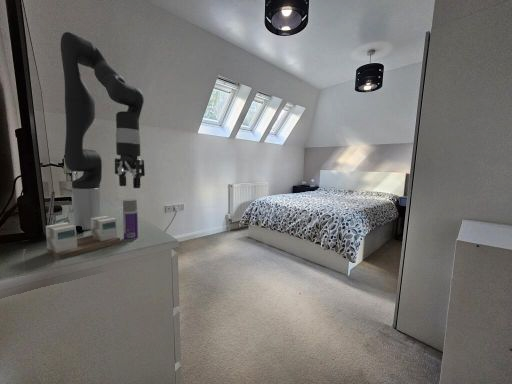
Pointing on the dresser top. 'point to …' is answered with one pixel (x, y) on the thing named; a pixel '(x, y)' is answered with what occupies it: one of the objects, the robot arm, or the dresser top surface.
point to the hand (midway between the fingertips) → (129, 187)
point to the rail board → (67, 244)
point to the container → (130, 219)
